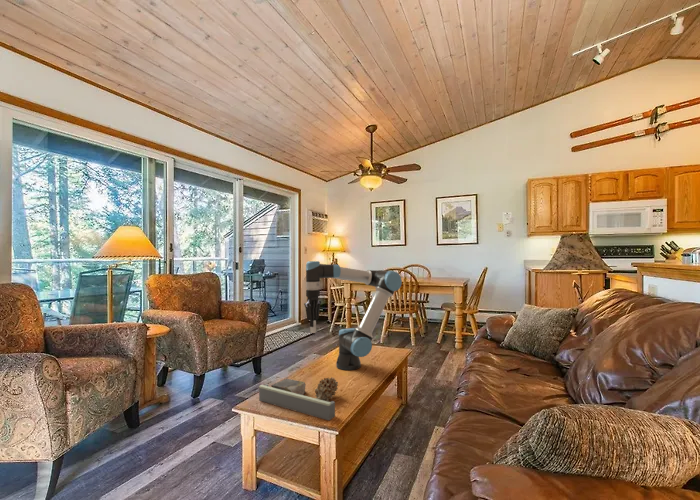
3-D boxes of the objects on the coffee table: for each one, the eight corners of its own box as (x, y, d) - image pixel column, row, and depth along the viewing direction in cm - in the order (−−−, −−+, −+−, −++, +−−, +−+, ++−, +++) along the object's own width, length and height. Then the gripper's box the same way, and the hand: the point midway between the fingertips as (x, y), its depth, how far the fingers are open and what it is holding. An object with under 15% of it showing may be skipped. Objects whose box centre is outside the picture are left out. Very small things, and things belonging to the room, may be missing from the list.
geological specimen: (284, 377, 171) (308, 381, 164) (284, 389, 171) (308, 393, 164) (270, 384, 162) (294, 388, 155) (270, 397, 162) (295, 401, 154)
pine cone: (324, 392, 164) (324, 372, 164) (341, 395, 160) (341, 375, 160) (300, 411, 144) (300, 388, 144) (318, 415, 140) (318, 392, 140)
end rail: (266, 396, 159) (266, 382, 159) (334, 415, 140) (334, 399, 140) (259, 400, 155) (258, 386, 155) (328, 420, 136) (328, 404, 136)
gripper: (311, 290, 173) (311, 335, 172) (325, 288, 184) (325, 330, 183) (300, 290, 176) (300, 334, 176) (314, 288, 188) (314, 329, 187)
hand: (313, 332), depth 180 cm, fingers closed
